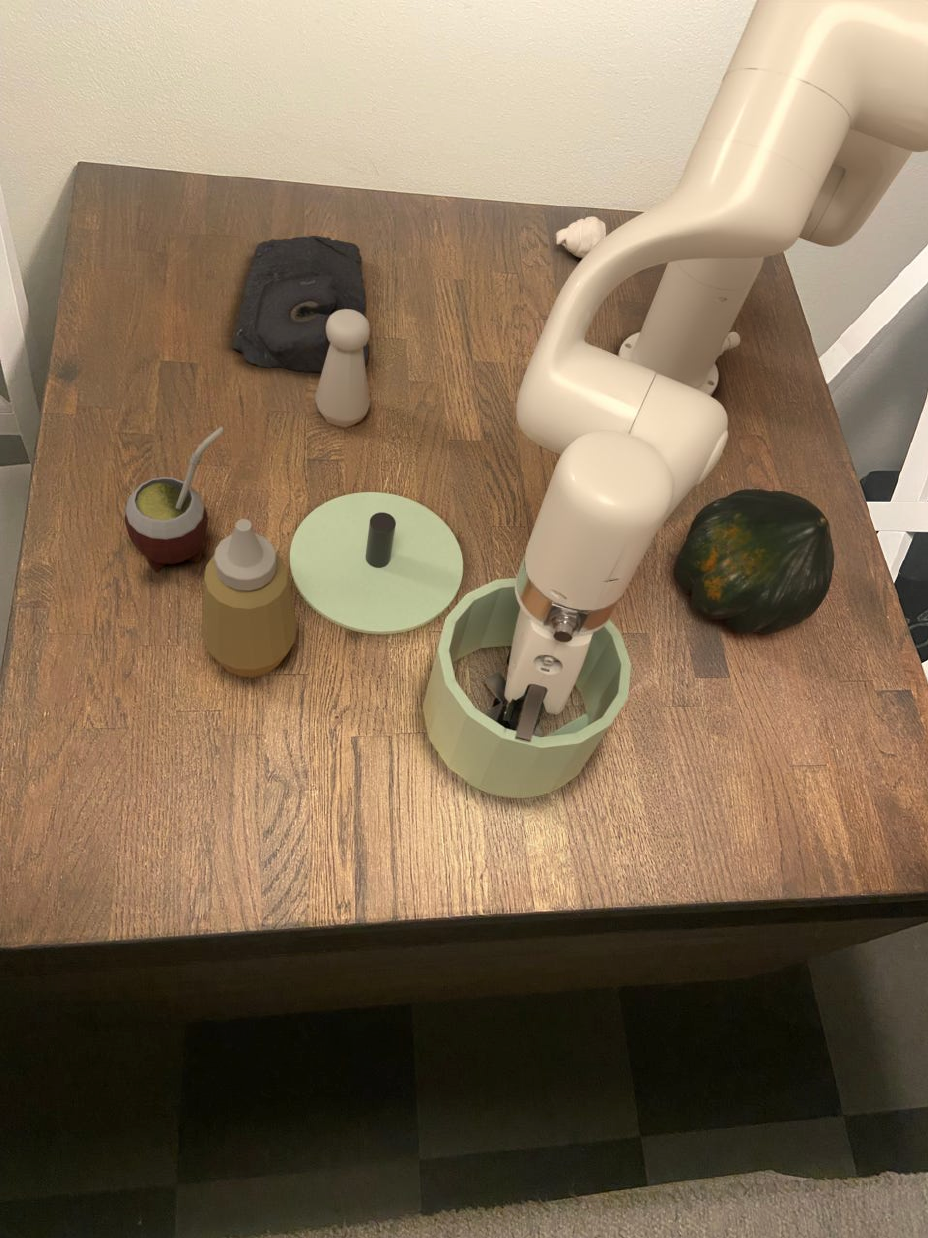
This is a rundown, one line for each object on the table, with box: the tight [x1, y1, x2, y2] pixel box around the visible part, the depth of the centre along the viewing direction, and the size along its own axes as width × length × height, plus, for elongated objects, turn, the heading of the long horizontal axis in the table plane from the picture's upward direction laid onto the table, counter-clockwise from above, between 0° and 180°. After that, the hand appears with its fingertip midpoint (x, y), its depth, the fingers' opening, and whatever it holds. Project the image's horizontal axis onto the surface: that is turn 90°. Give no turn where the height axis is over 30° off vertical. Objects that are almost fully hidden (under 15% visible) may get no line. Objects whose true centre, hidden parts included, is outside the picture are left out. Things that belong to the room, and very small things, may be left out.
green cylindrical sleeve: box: [422, 577, 632, 799], centre depth 78 cm, size 16×16×10 cm
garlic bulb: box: [555, 216, 607, 260], centre depth 120 cm, size 6×6×5 cm
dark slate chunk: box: [231, 235, 370, 374], centre depth 106 cm, size 15×22×5 cm
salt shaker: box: [314, 309, 371, 429], centre depth 94 cm, size 6×6×13 cm
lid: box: [289, 491, 464, 636], centre depth 87 cm, size 17×17×7 cm
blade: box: [482, 672, 544, 737], centre depth 79 cm, size 7×7×8 cm
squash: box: [672, 488, 835, 634], centre depth 90 cm, size 14×15×15 cm
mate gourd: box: [124, 425, 225, 574], centre depth 80 cm, size 8×8×15 cm
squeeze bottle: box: [200, 518, 298, 678], centre depth 75 cm, size 8×8×18 cm
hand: (517, 698), depth 80 cm, fingers open, 6 cm apart
